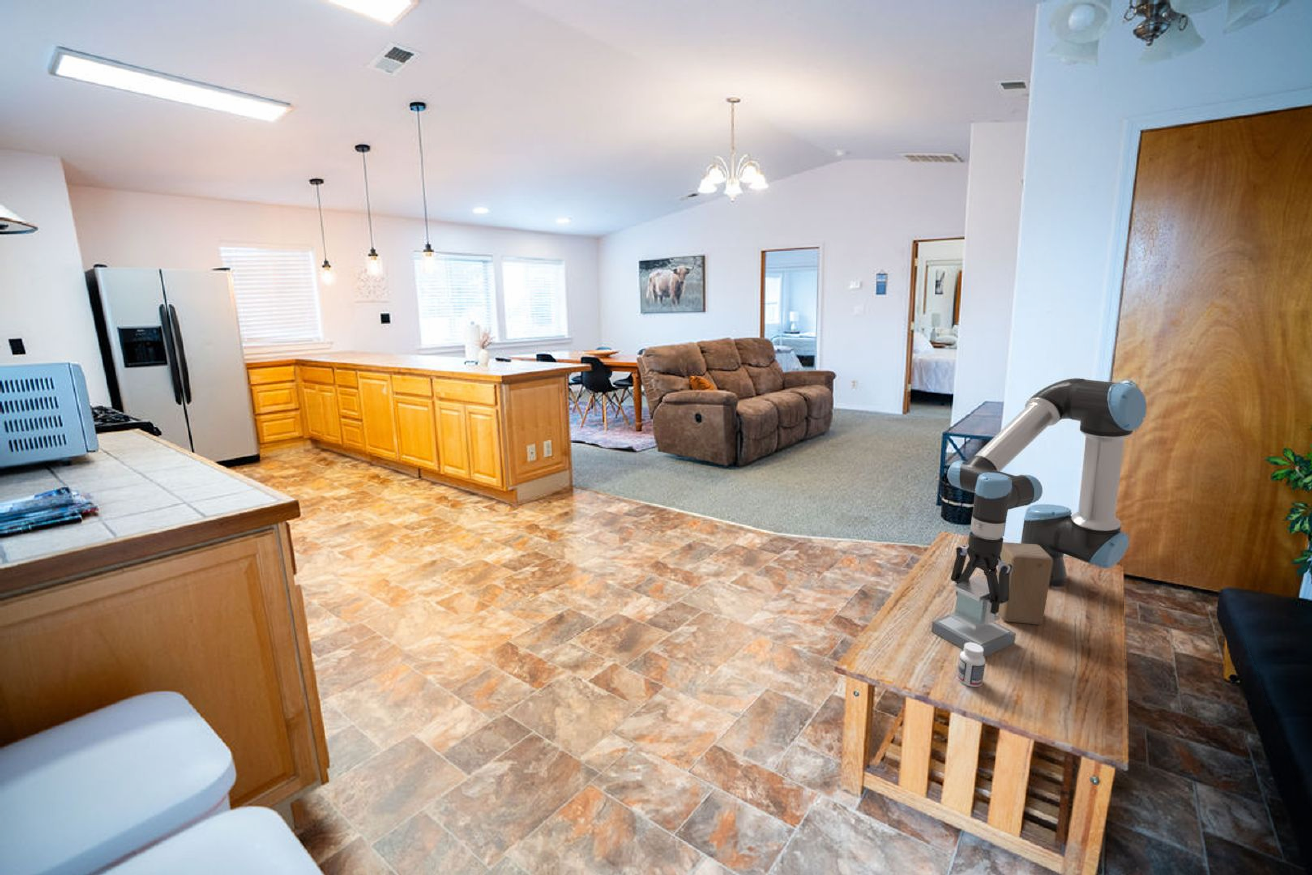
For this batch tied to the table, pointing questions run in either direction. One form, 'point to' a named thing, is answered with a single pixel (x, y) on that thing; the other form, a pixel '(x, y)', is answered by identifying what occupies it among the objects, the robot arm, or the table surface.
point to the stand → (974, 634)
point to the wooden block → (1026, 582)
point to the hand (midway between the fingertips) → (974, 615)
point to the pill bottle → (971, 665)
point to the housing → (972, 602)
